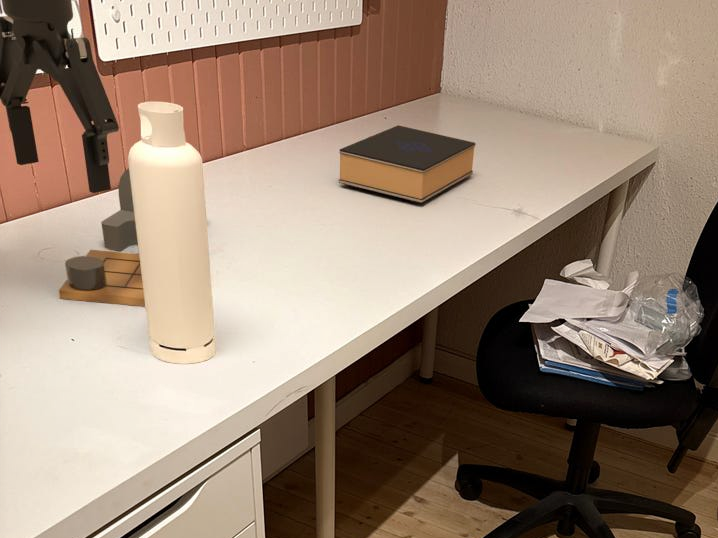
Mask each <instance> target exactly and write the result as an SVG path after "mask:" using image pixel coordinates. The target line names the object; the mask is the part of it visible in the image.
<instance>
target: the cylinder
mask: <svg viewBox="0 0 718 538" xmlns="http://www.w3.org/2000/svg"><path fill="white" fill-rule="evenodd" d="M64 267H65V272H66V273H65V274H66V278H67V279H68V284H69V285H70V286H71V287H73V288H76V289H81V290H94V289H99V288H102V287H104V286H105V285H106V284H107V280H106V273H105V266H104V262H103V261H102V260H101V259H98V258H95V257H88V256H86V255H84V256H83V255H82V256H74V257H70V258H68V259H66V260H65V262H64ZM67 279H66V280H67Z"/></svg>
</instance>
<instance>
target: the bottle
mask: <svg viewBox="0 0 718 538" xmlns="http://www.w3.org/2000/svg"><path fill="white" fill-rule="evenodd" d="M137 111H138V116H139V119H140V140H138V141H137V142H135V143H134V144H132V146H131V147H130V149H129V152H128V156H127V163H128V168H129V173H130V181H131V189H132V198H133V206H134V215H135V223H136V232H137V240H138V246H137V249H138V254H139V257H140V265H141V274H142V282H143V291H144V299H145V306H144V307H145V316H146V324H147V331H148V334H149V338H148V339H149V348H150V350H149V351H150V352H151V354H152V356H153V357H155V358H156V359H158V360H160V361H163V362H166V363H169V364H170V363H171V364H177V365H179V364H180V365H188V364H189V365H190V364H191V365H192V364H198V363H202V362H205V361H207V360H210V359H212V358H213V357H214V356H215V354H216V352H217V344H216V343H217V342H216V336H215V318H214V317H215V316H214V306H213V305H214V303H213V302H214V301H213V289H212V276H211V275H212V274H211V273H212V272H211V263H210V261H211V260H210V246H209V233H208V232H209V231H208V221H207V219H208V218H207V206H206V204H207V203H206V192H205V190H206V189H205V178H204V177H205V175H204V163H203V158H202V156H201V154H200V152H199V151H198V150H197V149H196V148H195V147H194V146H193V145H192V144H191V143H188V141H187V139H186V133H185V125H184V124H185V119H184V107H183V106H181V105H179V104H177V103H172V102H166V101H145V102H140V103H138V104H137ZM162 346H164V347H162ZM170 348H171V349H170ZM177 349H179V350H177ZM180 349H185V350H180Z"/></svg>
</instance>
